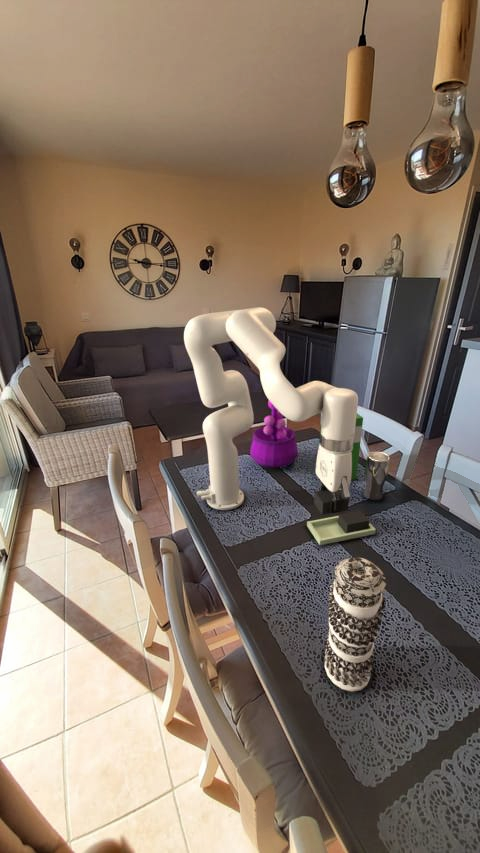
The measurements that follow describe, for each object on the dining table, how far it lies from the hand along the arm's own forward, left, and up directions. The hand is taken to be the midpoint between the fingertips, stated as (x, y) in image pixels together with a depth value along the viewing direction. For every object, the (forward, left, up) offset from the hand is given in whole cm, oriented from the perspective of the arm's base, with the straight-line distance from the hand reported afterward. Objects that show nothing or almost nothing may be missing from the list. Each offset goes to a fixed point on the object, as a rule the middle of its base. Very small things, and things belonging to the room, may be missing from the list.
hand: (330, 504), depth 92 cm
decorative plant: (+2, +51, -15) cm, 54 cm away
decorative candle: (-11, -30, -15) cm, 35 cm away
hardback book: (+23, +39, -15) cm, 48 cm away
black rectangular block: (0, 0, -1) cm, 1 cm away
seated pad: (+11, +6, -15) cm, 20 cm away
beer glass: (+26, +19, -15) cm, 36 cm away
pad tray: (+7, +6, -15) cm, 18 cm away
